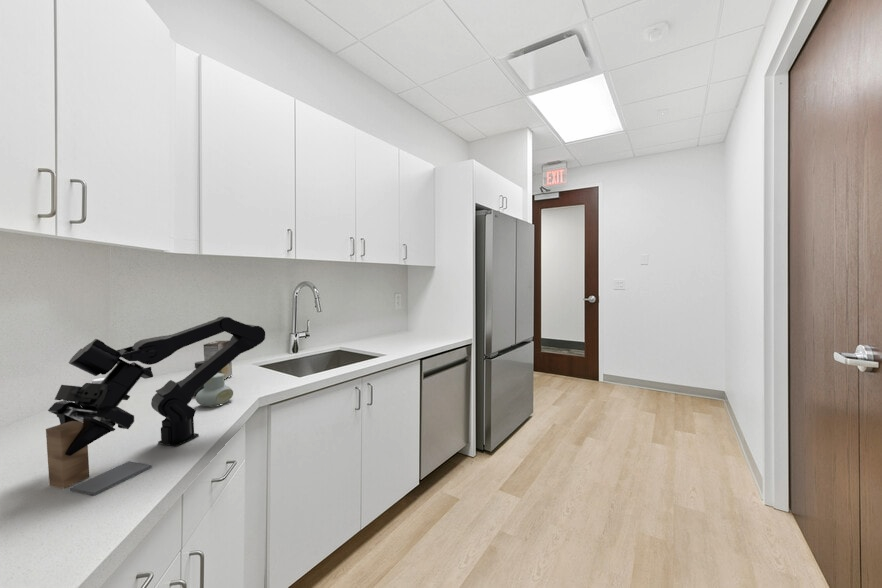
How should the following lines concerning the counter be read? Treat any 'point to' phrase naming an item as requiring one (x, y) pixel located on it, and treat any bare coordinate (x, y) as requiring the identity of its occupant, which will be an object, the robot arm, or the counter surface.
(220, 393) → the air freshener
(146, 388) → the counter surface
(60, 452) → the walnut block
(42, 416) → the counter surface
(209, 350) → the coffee box
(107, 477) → the rubber mat
